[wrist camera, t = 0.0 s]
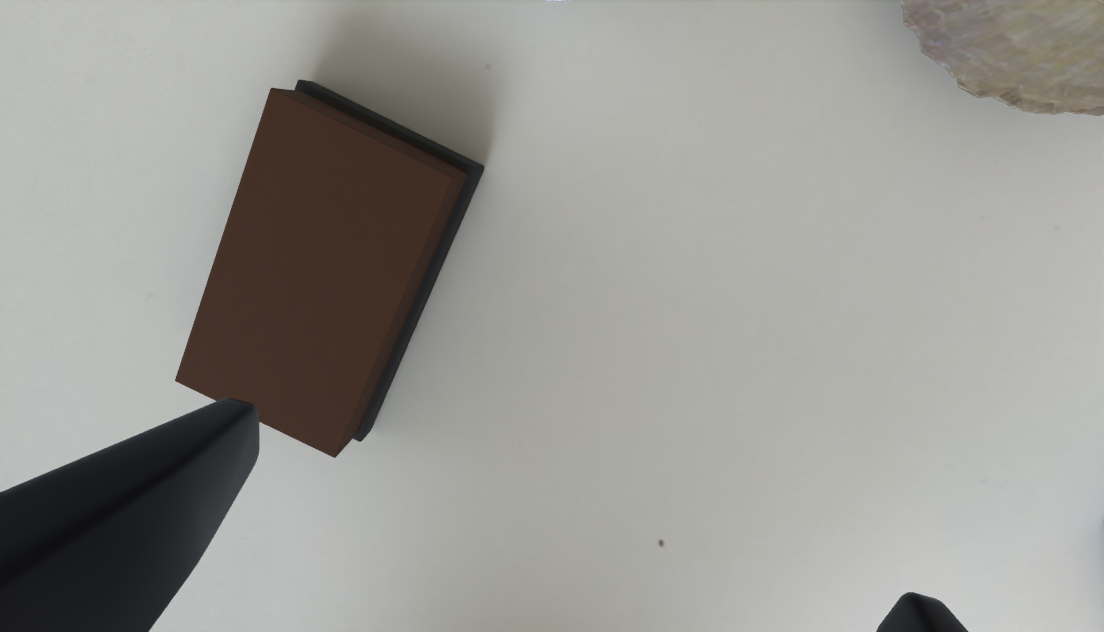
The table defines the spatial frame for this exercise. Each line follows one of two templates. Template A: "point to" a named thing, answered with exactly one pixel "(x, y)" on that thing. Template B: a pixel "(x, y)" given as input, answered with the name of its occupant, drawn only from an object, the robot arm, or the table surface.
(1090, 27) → the seashell
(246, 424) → the robot arm
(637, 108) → the table surface
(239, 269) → the brown slab
